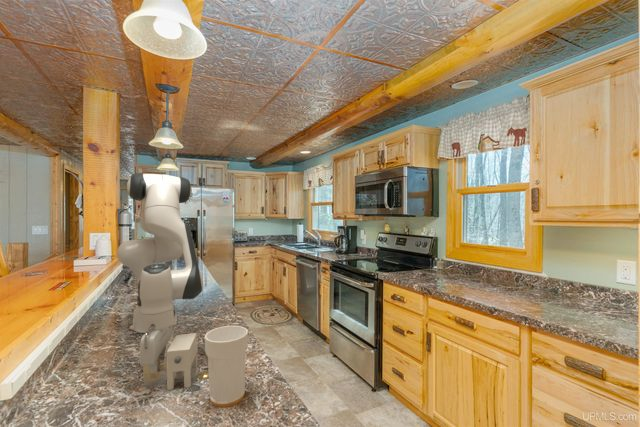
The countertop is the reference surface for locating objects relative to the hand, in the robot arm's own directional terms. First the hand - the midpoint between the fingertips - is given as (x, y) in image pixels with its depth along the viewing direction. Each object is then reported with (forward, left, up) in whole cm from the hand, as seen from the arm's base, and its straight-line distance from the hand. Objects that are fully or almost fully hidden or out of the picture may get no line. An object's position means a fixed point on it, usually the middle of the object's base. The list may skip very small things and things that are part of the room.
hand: (158, 365), depth 91 cm
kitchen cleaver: (-12, +15, -5) cm, 20 cm away
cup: (+13, +21, -5) cm, 25 cm away
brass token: (0, +13, -5) cm, 14 cm away
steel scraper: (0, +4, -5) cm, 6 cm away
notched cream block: (0, +7, -5) cm, 8 cm away
